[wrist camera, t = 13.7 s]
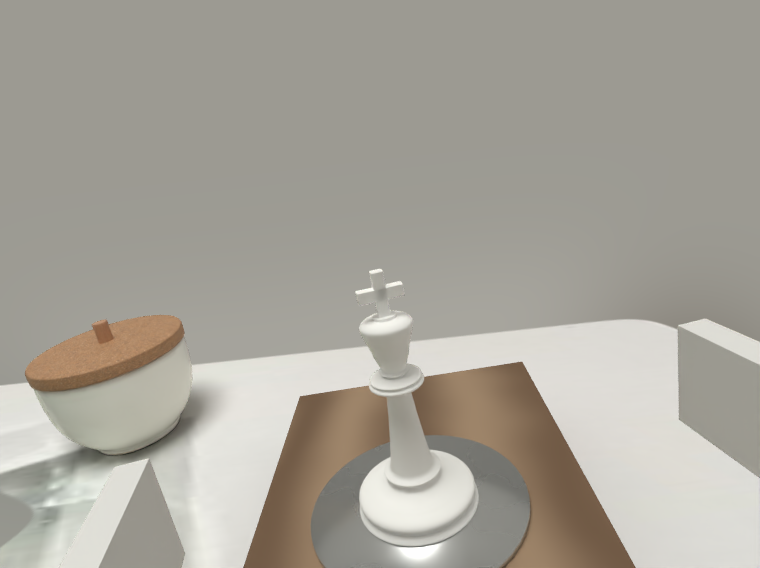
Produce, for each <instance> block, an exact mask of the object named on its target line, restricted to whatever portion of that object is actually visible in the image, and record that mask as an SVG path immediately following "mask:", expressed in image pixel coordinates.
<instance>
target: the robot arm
mask: <svg viewBox="0 0 760 568" xmlns="http://www.w3.org/2000/svg"><path fill="white" fill-rule="evenodd" d="M678 382H679V420H680V421H682V422H683V423H684V424H686V425H687V426H689V427H690V428H691V429H693V430H694V431H695V432H697V433H698V434H700V435H701V436H702V437H704V438H705V439H706V440H708V441H709V442H711V443H712V444H713V445H715V446H716V447H718V448H719V449H720V450H722V451H723V452H724V453H726V454H727V455H729V456H730V457H731V458H733V459H734V460H735V461H737V462H738V463H740V464H741V465H742V466H744V467H745V468H747V469H748V470H749V471H751V472H752V473H753V474H755V475H756V476H758V477H759V478H760V342H758V341H756V340H753V339H751V338H749V337H747V336H745V335H742V334H740V333H738V332H735V331H733V330H731V329H728V328H726V327H724V326H721V325H719V324H717V323H714V322H712V321H710V320H707V319H702V320H698V321H694V322H690V323H686V324H682V325H678ZM184 556H185V552H184V549H183V546H182V544H181V541H180V539H179V536H178V533H177V531H176V528H175V525H174V523H173V520H172V517H171V515H170V512H169V509H168V507H167V504H166V502H165V499H164V496H163V494H162V491H161V488H160V486H159V483H158V480H157V478H156V475H155V472H154V470H153V467H152V465H151V462H150V459H149V458H148V459H144V460H140V461H136V462H132V463H128V464H124V465H120V466H116V467H114V469H113V470H112V472H111V474H110V476H109V478H108V479H107V481H106V483H105V485H104V487H103V488H102V490H101V492H100V494H99V496H98V497H97V499H96V501H95V503H94V505H93V506H92V508H91V510H90V512H89V514H88V515H87V517H86V519H85V521H84V523H83V524H82V526H81V528H80V530H79V532H78V533H77V535H76V537H75V539H74V541H73V542H72V544H71V546H70V548H69V550H68V551H67V553H66V555H65V557H64V559H63V560H62V562H61V564H60V566H59V568H181V567H182V563H183V560H184Z"/></svg>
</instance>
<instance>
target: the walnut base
mask: <svg viewBox="0 0 760 568" xmlns="http://www.w3.org/2000/svg"><path fill="white" fill-rule="evenodd" d="M411 393H412V397H413V400H414V404H415V407H416V411H417V414H418V417H419V420H420V424H421V427H422V430H423V433H424V436H425V439H426V442H427V445H428V448H429V450H437V451H442V452H445V453H448V454H451V455H453V456H455V457H457V458H458V459H460V460H461V461H462V462H464V463H465V464H466V465H467V466H468V468H469V469H470V471H471V472H472V474H473V477H474V481H475V484H476V486H477V489H478V495H479V500H478V506H477V509H476V512H475V514H474V516H473V517H472V519H471V520H470V521H469V523H468V524H467V525H466V526H465V527H464V528H463V529H461V530H460V531H459V532H458V533H456V534H455V535H453V536H451V537H449V538H447V539H445V540H443V541H440V542H437V543H434V544H430V545H425V546H415V547H409V546H399V545H394V544H391V543H388V542H385V541H383V540H381V539H379V538H377V537H376V536H374V535H373V534H372V533H371V532H370V531H369V530H368V529H367V528H366V526H365V525H364V523H363V521H362V518H361V515H360V501H359V493H360V488H361V485H362V483H363V481H364V479H365V477H366V476H367V475H368V473H369V472H370V471H371V470H372V469H373V468H374V467H375V466H377V465H378V464H379V463H381V462H382V461H384V460H385V459H387V458H389V457H391V452H390V432H389V416H388V407H387V397H383V396H378V395H376V394H374V393H372V392H371V390H370V389H369V386H364V387H357V388H351V389H344V390H338V391H332V392H325V393H319V394H313V395H306V396H300V398H299V401H298V404H297V407H296V410H295V413H294V416H293V419H292V422H291V425H290V428H289V431H288V434H287V437H286V440H285V443H284V446H283V449H282V453H281V456H280V459H279V462H278V465H277V468H276V471H275V474H274V477H273V480H272V483H271V486H270V489H269V492H268V495H267V498H266V501H265V504H264V507H263V510H262V513H261V516H260V519H259V522H258V525H257V528H256V531H255V534H254V537H253V540H252V543H251V546H250V549H249V552H248V555H247V558H246V561H245V564H244V567H243V568H635V566H634V564H633V562H632V560H631V558H630V557H629V555H628V553H627V551H626V549H625V548H624V546H623V544H622V542H621V540H620V538H619V537H618V535H617V533H616V531H615V529H614V528H613V526H612V524H611V522H610V520H609V519H608V517H607V515H606V513H605V511H604V509H603V508H602V506H601V504H600V502H599V500H598V499H597V497H596V495H595V493H594V491H593V490H592V488H591V486H590V484H589V482H588V480H587V479H586V477H585V475H584V473H583V471H582V470H581V468H580V466H579V464H578V462H577V460H576V459H575V457H574V455H573V453H572V451H571V450H570V448H569V446H568V444H567V442H566V441H565V439H564V437H563V435H562V433H561V431H560V430H559V428H558V426H557V424H556V422H555V421H554V419H553V417H552V415H551V413H550V411H549V410H548V408H547V406H546V404H545V402H544V401H543V399H542V397H541V395H540V393H539V392H538V390H537V388H536V386H535V384H534V382H533V381H532V379H531V377H530V375H529V373H528V372H527V370H526V368H525V366H524V364H523V362H517V363H510V364H504V365H498V366H491V367H485V368H479V369H472V370H466V371H459V372H453V373H447V374H440V375H434V376H427V377H424V382H423V384H422V385H421V386H420V387H419V388H418V389H416V390H415V391H413V392H411Z"/></svg>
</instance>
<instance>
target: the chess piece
mask: <svg viewBox="0 0 760 568" xmlns="http://www.w3.org/2000/svg"><path fill="white" fill-rule="evenodd" d="M369 274H370V280H371V285H372V288H368V289H363V290H359V291H356V292H355V293H356V297H357V302H358V304H359V306H361V305H366V304H370V303H375V306H376V311H377V313H375V314H373V315H371V316H369V317H367V318H366V319H364V321H362V323H361V324H360V326H359V332H360V334H361V336H362V338H363V340H364V341H365V343H366V344H367V346H368V347H369V349H370V351H371V352H372V354H373V357H374V359H375V360H376V362H377V363H378V365H379V366H380V369H379V370H377V371H376V372H374V373H373V374H372V375H371V377H370V383H369V389H370V390H371V392H372V393H374V394H376V395H378V396H383V397H387V407H388V416H389V432H390V452H391V457H389V458H387V459H385V460H384V461H382V462H381V463H379V464H378V465H377V466H375V467H374V468H373V469H372V470H371V471H370V472H369V473H368V475H367V476H366V477H365V479H364V481H363V483H362V485H361V488H360V493H359V501H360V515H361V518H362V521H363V523H364V525H365V526H366V528H367V529H368V530H369V531H370V532H371V533H372V534H373V535H374V536H376V537H377V538H379V539H381V540H383V541H385V542H388V543H391V544H394V545H399V546H409V547H415V546H425V545H430V544H434V543H437V542H440V541H443V540H445V539H447V538H449V537H451V536H453V535H455V534H456V533H458V532H459V531H460V530H461V529H463V528H464V527H465V526H466V525H467V524H468V523H469V521H470V520H471V519H472V517H473V516H474V514H475V512H476V509H477V506H478V500H479V495H478V489H477V486H476V484H475V481H474V477H473V474H472V472H471V471H470V469H469V468H468V466H467V465H466V464H465V463H464V462H462V461H461V460H460V459H458V458H457V457H455V456H453V455H451V454H448V453H445V452H442V451H437V450H429V448H428V445H427V442H426V439H425V436H424V433H423V430H422V427H421V424H420V420H419V417H418V414H417V411H416V407H415V404H414V400H413V397H412V393H411V392H413V391H415V390H416V389H418V388H419V387H420V386H421V385H422V384H423V382H424V375H423V373H422V372H421V370H420V368H419V367H417V366H415V365H412V364H406V363H407V358H408V354H409V343H410V337H411V334H412V328H413V319H412V317H411V316H410V315H408V314H407V313H405V312H402V311H392V310H390V308H389V302H388V299H392V298H396V297H400V296H404V295H405V294H404V289H403V284H402V283H401V282H400V281H399V282H394V283H389V284H385V281H384V276H383V271H382V270H381V269H376V270H372V271H369Z"/></svg>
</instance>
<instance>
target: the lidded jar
mask: <svg viewBox="0 0 760 568" xmlns="http://www.w3.org/2000/svg"><path fill="white" fill-rule="evenodd" d="M92 327H93V330H90V331H88V332H85V333H82V334H80V335H78V336H75V337H73V338H70V339H68V340H66V341H64V342H62V343H60V344H58V345H56V346H54V347H52V348H50V349H49V350H47V351H45V352H44V353H42V354H41V355H39V356H38V357H37V358H35V359H34V360H33V361H32V362H31V363H30V364H29V365H28V366H27V368H26V371H25V376H26V378H27V381H28V383H29V384H30V386H31V387H32V388H33V389H34V391H35V394H36V396H37V398H38V400H39V402H40V404H41V406H42V408H43V410H44V411H45V413H46V414H47V416H48V417H49V419H50V421H51V422H52V423H53V425H54V426H55V427H56V428H57V429H58V430H59V432H61V433H62V434H63V435H64V436H65V437H67V438H68V439H70V440H71V441H73V442H75V443H77V444H78V445H81V446H84V447H87V448H91V449H95V450H99V451H100V452H101V453H103V454H106V455H121V454H126V453H130V452H134V451H137V450H139V449H142V448H144V447H147V446H149V445H151V444H153V443H155V442H157V441H158V440H160V439H162V438H163V437H164V436H166V435H167V434H168V433H170V432H171V431H172V430H173V429H174V428H175V427H176V425H177V424H178V422H179V420H180V414H181V413H182V411H183V410H184V408H185V406H186V403H187V401H188V399H189V396H190V393H191V388H192V379H193V377H192V365H191V359H190V354H189V350H188V347H187V343H186V340H185V337H184V329H183V325H182V322H181V321H180V320H179V319H178V318H176V317H174V316H169V315H153V316H143V317H138V318H133V319H127V320H124V321H119V322H116V323H112V324H108V322H107V320H100V321H97V322H95V323H93V324H92Z"/></svg>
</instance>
